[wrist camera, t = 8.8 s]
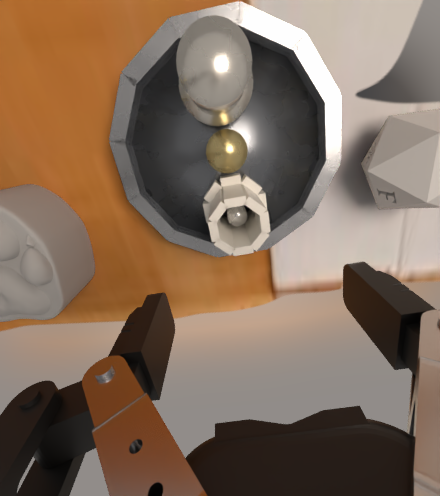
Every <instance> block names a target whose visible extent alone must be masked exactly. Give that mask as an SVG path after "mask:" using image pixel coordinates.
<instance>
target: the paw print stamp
mask: <svg viewBox="0 0 440 496" xmlns="http://www.w3.org/2000/svg"><path fill="white" fill-rule="evenodd" d="M94 273H95V261H94V256H93V250H92V246H91V242H90V239H89V236H88V233H87V230H86V228H85V225H84V223H83V222H82V220H81V219H80V217H79V216H78V215H77V214H76V213H75V211H74V210H73V209H72V208H71V207H70V206H69V205H68V204H67V203H66V202H65V201H64V200H63V199H62V198H60V197H59V196H58V195H56V194H54V193H53V192H51V191H49V190H47V189H45V188H43V187H41V186H38V185H33V184H27V185H21V186H17V187H12V188H8V189H3V190H0V322H5V321H11V320H16V319H37V320H47V319H52V318H54V317H56V316H57V315H58V314H59V313H60V312H61V311H62V310H63V309H64V308H65V307H66V306H67V305H68V304H69V303H70V302H71V301H72V299H73V298H74V297H75V296H76V295H77V294H78V293H79V292H80V291H81V290H82V289H83V288H84V287H85V286H86V285H87V283H88V282H89V281H90V280H91V279H92V278H93V276H94Z"/></svg>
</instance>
